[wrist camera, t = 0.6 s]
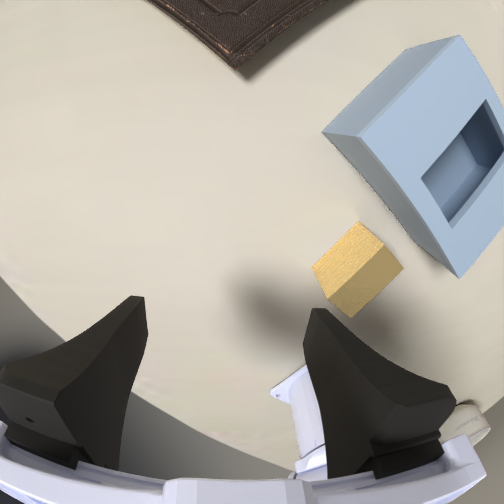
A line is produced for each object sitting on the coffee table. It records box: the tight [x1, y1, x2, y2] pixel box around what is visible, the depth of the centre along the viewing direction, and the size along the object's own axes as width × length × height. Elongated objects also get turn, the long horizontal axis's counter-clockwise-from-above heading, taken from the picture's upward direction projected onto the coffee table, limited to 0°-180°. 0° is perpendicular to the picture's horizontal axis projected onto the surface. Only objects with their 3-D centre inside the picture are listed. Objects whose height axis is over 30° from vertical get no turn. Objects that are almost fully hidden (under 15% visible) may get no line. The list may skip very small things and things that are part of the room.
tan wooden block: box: [312, 221, 404, 318], centre depth 20 cm, size 3×5×4 cm, turn 138°
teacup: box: [438, 404, 491, 446], centre depth 33 cm, size 14×11×8 cm
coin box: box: [322, 35, 504, 279], centre depth 16 cm, size 12×10×6 cm
